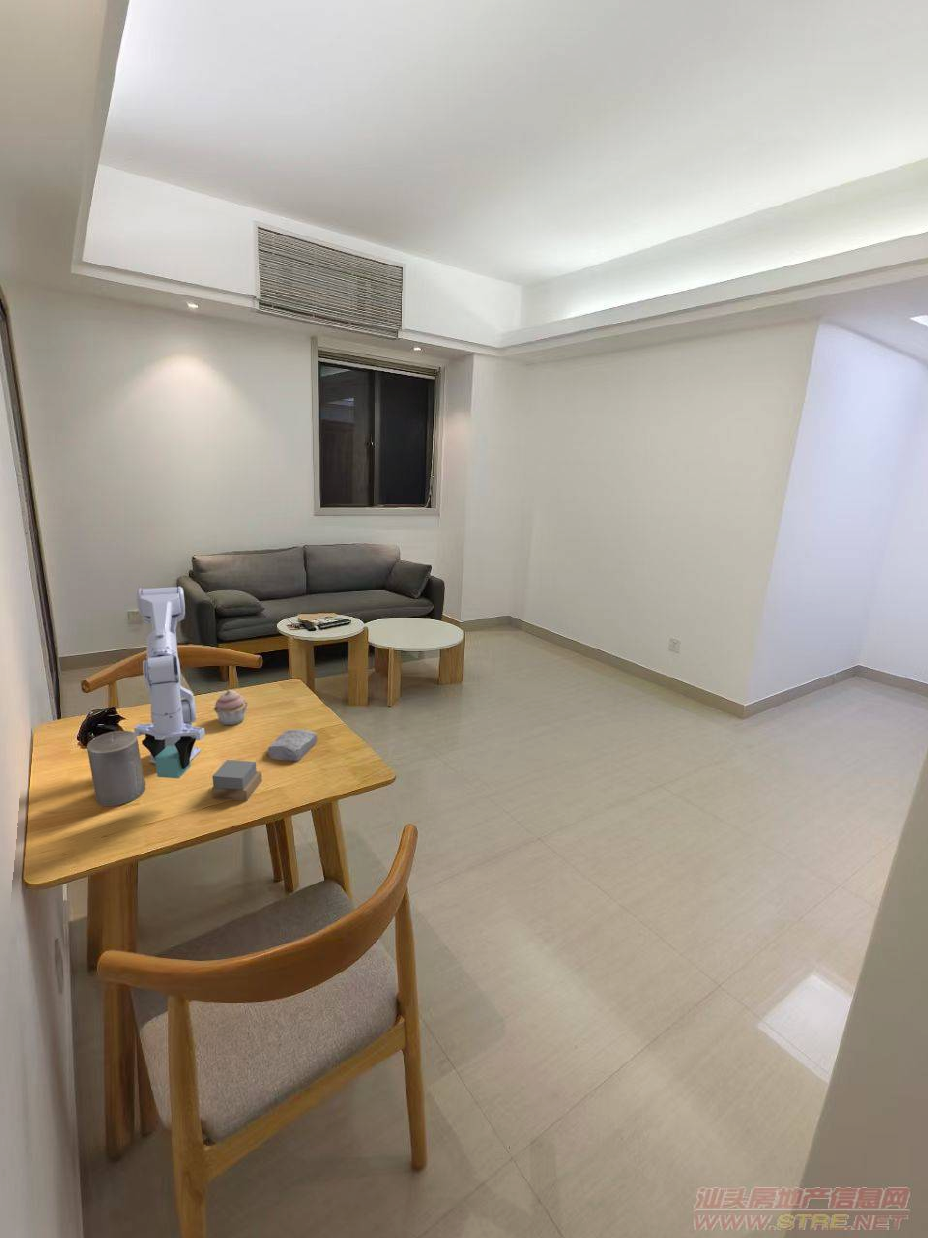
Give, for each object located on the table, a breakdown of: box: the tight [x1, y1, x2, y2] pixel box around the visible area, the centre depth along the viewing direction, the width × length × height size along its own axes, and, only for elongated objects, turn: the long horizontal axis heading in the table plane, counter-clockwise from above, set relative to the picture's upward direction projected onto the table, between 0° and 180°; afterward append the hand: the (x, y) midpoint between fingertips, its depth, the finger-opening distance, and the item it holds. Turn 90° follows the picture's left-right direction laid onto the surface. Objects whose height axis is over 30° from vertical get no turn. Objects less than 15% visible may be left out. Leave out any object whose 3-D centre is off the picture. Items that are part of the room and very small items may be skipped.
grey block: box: [211, 759, 257, 790], centre depth 129 cm, size 7×7×3 cm
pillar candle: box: [86, 730, 146, 807], centre depth 125 cm, size 10×10×15 cm
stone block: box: [267, 728, 318, 762], centre depth 149 cm, size 12×5×10 cm
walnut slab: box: [211, 771, 263, 801], centre depth 130 cm, size 8×8×3 cm
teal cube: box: [155, 746, 192, 779], centre depth 122 cm, size 5×5×5 cm
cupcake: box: [213, 689, 249, 726], centre depth 161 cm, size 9×9×10 cm
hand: (173, 765), depth 123 cm, fingers closed on teal cube, 5 cm apart
